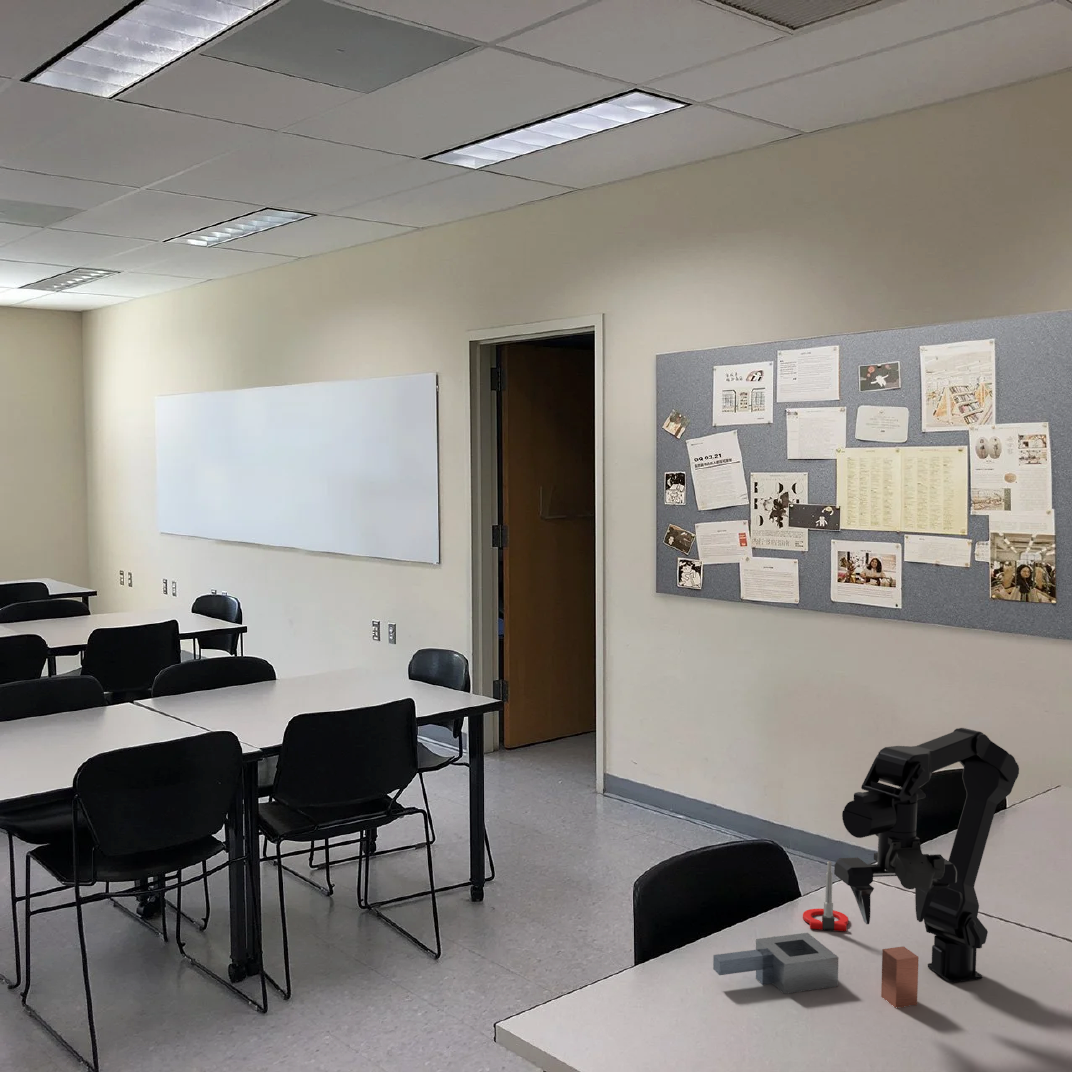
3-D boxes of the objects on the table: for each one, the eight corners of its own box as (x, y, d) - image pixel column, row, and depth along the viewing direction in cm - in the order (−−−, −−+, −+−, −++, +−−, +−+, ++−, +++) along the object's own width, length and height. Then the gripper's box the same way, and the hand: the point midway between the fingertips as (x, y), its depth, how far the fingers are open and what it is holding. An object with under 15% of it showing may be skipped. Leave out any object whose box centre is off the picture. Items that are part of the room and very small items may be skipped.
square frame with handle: (807, 960, 194) (807, 932, 193) (837, 986, 184) (838, 957, 184) (703, 973, 188) (703, 945, 188) (729, 1001, 179) (729, 971, 178)
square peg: (902, 993, 182) (903, 946, 181) (917, 1005, 178) (918, 956, 177) (881, 996, 181) (882, 949, 180) (895, 1008, 177) (896, 959, 176)
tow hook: (800, 912, 216) (805, 930, 206) (802, 847, 215) (806, 861, 206) (845, 916, 214) (851, 933, 205) (846, 849, 214) (853, 864, 205)
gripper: (866, 845, 168) (862, 945, 169) (978, 842, 172) (973, 940, 172) (834, 823, 179) (830, 917, 180) (940, 820, 183) (936, 912, 183)
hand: (893, 922), depth 179 cm, fingers open, 9 cm apart
